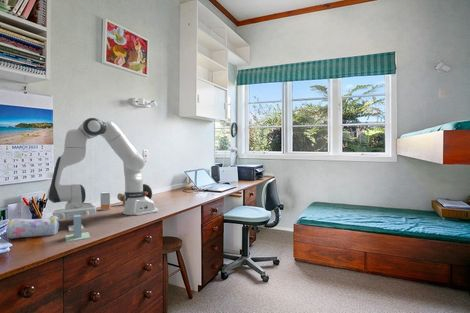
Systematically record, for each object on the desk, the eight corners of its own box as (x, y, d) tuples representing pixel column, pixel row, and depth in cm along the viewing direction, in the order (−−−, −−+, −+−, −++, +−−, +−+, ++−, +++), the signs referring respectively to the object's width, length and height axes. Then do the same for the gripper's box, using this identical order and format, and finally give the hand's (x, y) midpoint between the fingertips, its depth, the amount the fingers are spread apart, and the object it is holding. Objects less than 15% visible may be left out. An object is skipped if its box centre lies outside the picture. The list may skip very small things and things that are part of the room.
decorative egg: (146, 201, 224) (146, 182, 223) (155, 203, 215) (155, 184, 215) (132, 203, 215) (131, 184, 214) (140, 206, 206) (140, 185, 206)
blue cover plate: (80, 234, 139) (80, 214, 139) (81, 237, 136) (81, 216, 135) (73, 235, 138) (73, 215, 137) (74, 238, 134) (73, 217, 134)
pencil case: (60, 231, 146) (60, 213, 146) (56, 236, 138) (56, 217, 138) (12, 236, 139) (11, 217, 139) (4, 241, 131) (3, 221, 131)
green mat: (88, 233, 144) (88, 231, 144) (90, 238, 135) (90, 237, 135) (65, 236, 138) (65, 235, 138) (65, 242, 130) (65, 241, 130)
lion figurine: (117, 206, 207) (117, 194, 206) (117, 204, 211) (117, 192, 211) (138, 204, 212) (138, 192, 212) (138, 203, 217) (137, 191, 217)
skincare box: (100, 210, 193) (100, 193, 193) (100, 209, 197) (100, 192, 197) (110, 209, 196) (109, 192, 195) (110, 208, 200) (109, 191, 199)
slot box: (82, 226, 155) (82, 224, 155) (83, 230, 148) (83, 227, 147) (68, 228, 151) (68, 225, 151) (69, 232, 144) (68, 229, 144)
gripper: (52, 206, 153) (51, 212, 141) (94, 202, 163) (97, 207, 152) (52, 218, 153) (52, 224, 141) (94, 213, 164) (97, 218, 152)
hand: (75, 215), depth 147 cm, fingers open, 8 cm apart
